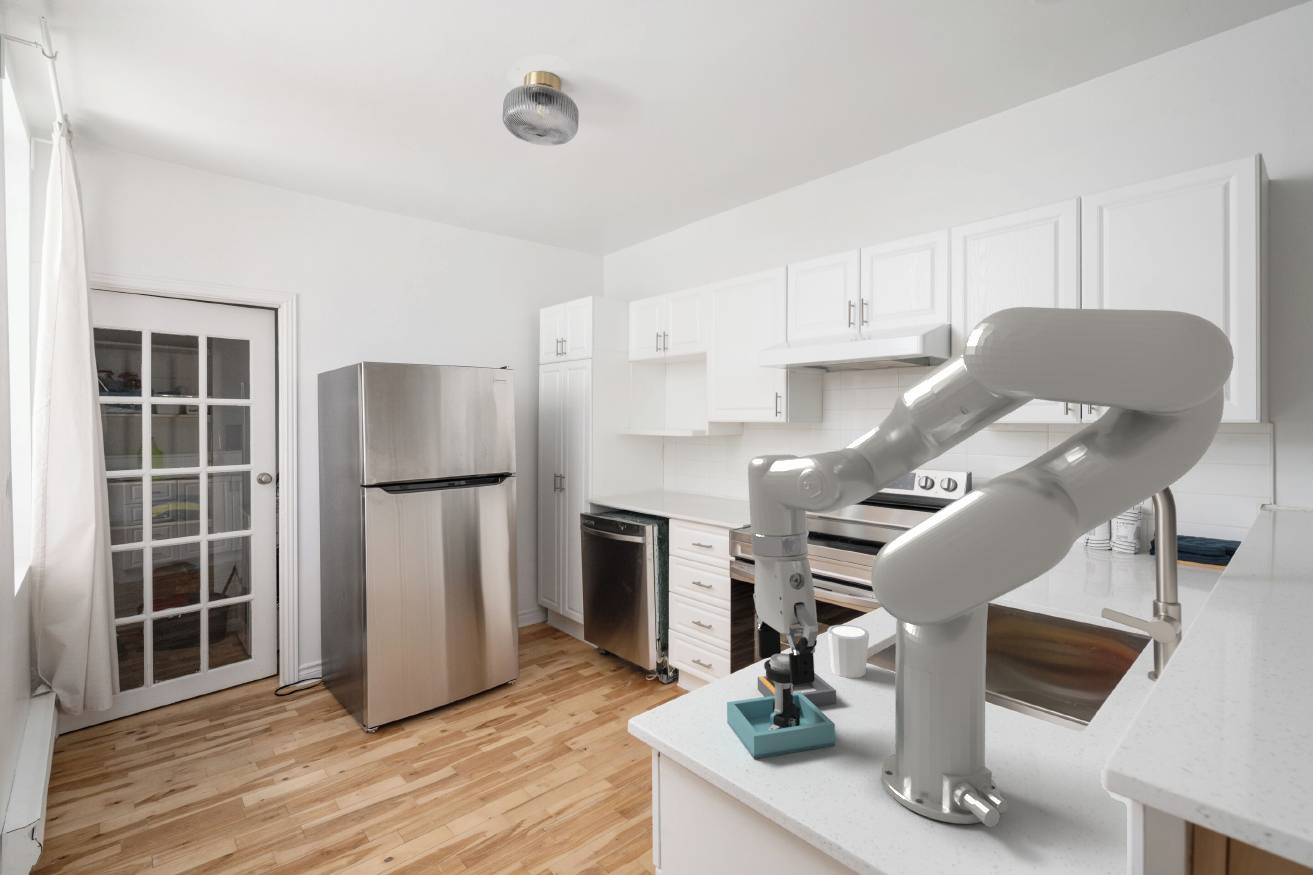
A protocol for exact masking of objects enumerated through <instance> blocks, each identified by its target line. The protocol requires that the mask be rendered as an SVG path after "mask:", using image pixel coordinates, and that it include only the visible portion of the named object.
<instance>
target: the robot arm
mask: <svg viewBox="0 0 1313 875" xmlns="http://www.w3.org/2000/svg"><path fill="white" fill-rule="evenodd" d="M1234 358H1235V357H1234V352H1233V346H1232V344H1231V342H1230V339H1229V338H1228V336H1227V335H1226V334H1225V332H1224V331H1223V329H1221V328H1220V327H1219V326H1217V325H1216V324H1215V323H1213V322H1212V321H1210V320H1208V319H1206V318H1204V317H1202V316H1200V315H1196V314H1192V313H1188V312H1184V311H1176V310H1175V311H1174V310H1166V309H1165V310H1164V309H1162V310H1161V309H1160V310H1158V309H1157V310H1156V309H1116V308H1115V309H1113V308H1112V309H1110V308H1108V309H1107V308H1068V307H1067V308H1066V307H1065V308H1063V307H1061V308H1060V307H1039V306H1038V307H1035V306H1034V307H1033V306H1021V307H1019V306H1018V307H1017V306H1016V307H1010V308H1004V309H1002V310H998V311H996V312H994V313H991V314H990V315H988V316H986V317H985V318H983V319H982V320H981V321H979V322H978V323H977V324H976V325H975V326H974V328H973V329H972V330H971V331H970V332H969V335H968V336H967V338H966V340H965V343H964V346H963V349H962V350H960V351H959V352H957V353H956V354H954V355H953V356H952V357H950V358H948V359H947V360H946V361H944V362H943V363H941V364H939V365H938V366H937V367H935V368H933V369H932V370H931V371H930V372H928V373H927V374H925V375H924V376H922V377H921V378H920V379H918V380H916V381H915V382H913V383H912V384H910V385H908V386H907V387H906V388H904V390H902V391H901V393H900V394H899V395H898V396H897V398H896V400H895V402H894V405H893V408H892V409H891V411H890V413H889V414H888V415H887V416H886V418H885V419H883V420H882V421H881V422H880V423H879V424H878V425H876V426H875V427H874V428H873V429H871V430H870V431H868V432H866V433H865V434H863V435H862V436H861V437H859V438H857V439H855V441H853V442H851V443H850V444H848V445H847V446H845V447H844V448H841V449H840V450H834V451H826V452H819V453H816V454H815V453H814V454H810V455H805V456H797V455H794V454H767V455H758V456H755V457H753V458H751V459H750V461H749V463H748V466H747V477H748V478H747V479H748V496H749V497H748V500H749V501H748V502H749V513H750V514H749V516H750V538H751V556H752V557H753V558H754V593H753V594H752V597H753V601H754V606H755V608H754V614H755V615H756V618H757V621H756V628H757V638H758V639H757V640H758V657H760V659H771V656H772V655H774V654H780V653H782V649H781V634H782V635H783V636H785V637H786V639H787V641H788V645H789V647H790V650H791V653H788V654H789V665H790V682H791V683H792V684H793V685H800V684H806V683H812V682H814V680H815V677H814V673H815V659H814V653H816V646H817V644H818V640H817V638H818V633H819V626H818V619H817V618H818V616H817V605H816V597H815V587H814V582H813V581H814V580H813V575H812V570H811V565H810V561H809V558H808V556H809V554H808V553H809V552H808V528H807V527H808V526H807V512H809V513H814V514H828V513H832V512H836V511H838V510H839V511H840V510H841V509H845V508H847V507H850V506H853V505H856V504H859V503H861V502H863V501H865V500H866V499H869V498H870V497H872V496H874V495H876V494H878V493H879V492H882V491H883V490H884V489H885V488H887V487H889V486H891V485H892V484H894V483H896V482H897V481H899V480H901V479H902V478H904V477H906V476H907V475H909V474H910V473H912V472H913V471H915V470H917V469H918V468H921V466H923V465H925V464H926V463H928V462H930V461H933V460H935V459H937V458H939V457H941V456H942V455H943V454H945V453H946V452H947V451H948V452H949V450H951V449H952V448H954V447H955V446H958V445H959V444H961V443H963V442H965V441H966V440H968V439H969V438H971V437H972V436H974V435H975V434H977V433H979V432H980V431H982V430H984V429H985V428H986V427H989V426H990V425H991V424H994V423H995V422H997V421H999V420H1001V419H1002V418H1004V417H1005V416H1008V415H1009V414H1011V413H1013V412H1015V411H1016V410H1017V409H1019V408H1021V407H1023V406H1024V405H1026V404H1028V403H1029V402H1031V401H1033V400H1034V399H1035V400H1043V401H1049V402H1059V403H1068V404H1077V405H1086V406H1088V405H1089V406H1098V407H1107V408H1108V409H1107V410H1106V412H1105V413H1103V414H1102V416H1101V417H1099V418H1097V420H1095V421H1093V422H1092V423H1091V424H1089V425H1087V426H1086V427H1084V428H1082V430H1081V429H1080V430H1079V431H1078V432H1077V433H1075V434H1073V435H1071V436H1070V437H1068V438H1067V439H1066V440H1063V441H1062V442H1061V443H1060V444H1059V445H1057V446H1055V447H1053V448H1051V449H1049V451H1047V452H1045V453H1043V454H1042V455H1040V456H1038V457H1037V458H1035V459H1033V460H1032V461H1030V462H1027V463H1026V464H1024V465H1023V466H1020V467H1018V468H1016V469H1014V470H1012V471H1008V472H1006V473H1003V474H1000V475H998V476H995V477H993V478H991V479H990V480H987V481H985V482H984V483H982V484H980V485H978V486H977V487H975V488H972V490H970V491H968V492H967V493H965V494H964V495H962V496H960V497H959V498H957V499H956V500H954V501H952V502H951V503H949V504H948V505H946V506H945V507H943V508H941V509H940V510H938V511H935V513H933V514H931V515H929V516H928V517H926V518H924V519H923V520H921V521H920V522H919V523H917V524H915V525H913V526H912V527H910V528H909V529H907V530H906V531H905V530H904V532H902V533H901V534H899V535H897V536H896V537H893V538H892V539H890V540H889V541H887V542H886V543H885V544H884V545H883V546H882V547H881V548H880V549H879V551H878V553H877V554H876V556H875V557H874V560H873V563H872V566H871V573H870V581H871V582H870V583H871V588H872V591H873V594H874V596H875V598H876V600H877V602H878V604H879V605H880V606H881V607H882V608H883V609H884V610H885V611H886V612H887V614H888V615H890V616H891V617H893V618H895V619H896V626H895V662H894V663H895V679H894V680H895V682H894V683H895V688H894V689H895V690H894V691H895V693H894V694H895V697H894V698H895V699H894V700H895V704H894V706H895V712H894V713H895V714H894V715H895V716H894V717H895V718H894V719H895V720H894V722H895V728H894V729H895V730H894V732H895V733H894V734H895V745H894V746H895V752H894V754H892V755H891V756H890V757H888V758H886V759H885V761H884V762H883V764H882V768H881V780H882V784H883V786H884V788H885V789H886V791H887V792H888V793H889V794H890V796H891V797H892V798H893V799H894V800H895V801H897V802H899V803H900V804H901V805H902V806H903V807H906V808H907V809H908V810H911V811H912V812H915V813H916V814H919V815H921V816H924V817H927V818H929V819H932V820H937V821H940V822H945V823H949V824H957V825H958V824H959V825H962V824H963V825H965V824H966V825H969V824H978V823H982V824H984V825H985V826H986V827H988V828H994V827H996V826H997V824H999V821H1000V818H1001V816H1000V814H1004V813H1006V811H1007V810H1008V808H1009V804H1008V803H1009V802H1008V801H1007V800H1006V799H1004V798H1003V797H1002V796H1001V792H1000V789H999V787H998V785H997V783H996V782H995V781H994V780H993V778H992V774H993V772H992V771H991V770H990V769H989V768H987V767H986V668H987V629H988V628H987V626H988V624H987V623H988V612H989V603H990V602H992V601H994V600H996V599H998V598H1000V597H1002V596H1004V595H1006V594H1009V593H1010V592H1012V591H1015V590H1016V589H1018V588H1021V587H1023V586H1024V585H1027V584H1028V583H1030V582H1033V581H1034V580H1036V579H1038V578H1039V577H1042V575H1044V574H1046V573H1048V572H1049V571H1050V570H1052V569H1053V568H1055V567H1056V566H1057V565H1058V564H1060V563H1061V562H1062V560H1063V559H1065V558H1066V556H1067V555H1068V554H1069V553H1070V551H1071V549H1072V547H1073V546H1074V543H1076V542H1077V541H1078V539H1079V538H1081V537H1083V536H1084V535H1086V534H1088V533H1089V532H1091V531H1092V530H1094V529H1096V528H1098V527H1099V526H1102V525H1104V524H1106V523H1107V522H1109V521H1111V520H1114V519H1115V518H1117V517H1119V516H1121V515H1122V514H1124V513H1126V512H1127V511H1129V510H1131V509H1132V508H1134V507H1136V506H1138V505H1139V504H1141V503H1142V502H1144V501H1146V500H1148V499H1150V498H1152V497H1153V496H1155V495H1157V494H1159V493H1160V492H1162V491H1163V490H1165V489H1167V488H1168V487H1170V486H1172V485H1173V484H1175V483H1176V482H1177V481H1179V480H1180V479H1181V478H1183V477H1185V475H1187V473H1189V472H1190V471H1191V470H1192V469H1193V468H1194V467H1195V466H1196V465H1197V464H1198V463H1199V462H1200V460H1201V459H1202V458H1203V457H1204V455H1205V454H1206V453H1207V451H1208V450H1209V448H1210V446H1211V445H1212V444H1213V442H1214V439H1215V437H1216V435H1217V432H1218V430H1219V428H1220V425H1221V421H1222V419H1223V414H1224V405H1225V401H1224V400H1225V394H1224V393H1225V391H1224V389H1225V388H1224V385H1225V384H1226V383H1227V382H1228V380H1229V378H1230V376H1231V374H1232V371H1233V367H1234ZM799 636H802V637H800V639H799V640H798V642H797V640H796V637H799Z"/></svg>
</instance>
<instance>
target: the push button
mask: <svg viewBox="0 0 1313 875" xmlns="http://www.w3.org/2000/svg"><path fill="white" fill-rule="evenodd" d="M763 666H764V667H763V668H764V670H765V676H767V678H768V679H770V680H772V681H773V682H774V684H775V700H774V701H773V712H774V713H772V714H771V715H770V728H769V729H768V730H775V729H782V728H788V727H795V726H799V725H800V708H799V707H796V706H795V704H793V693H794V692H793V691H794V690H793V689H794V688H793V684H792V683H791V682H790V665H789V653H785V652H783V653H782V652H781V653H780V654H774V655H772V656H771V657H770V658H768V659H767V660H766V661H764V664H763Z"/></svg>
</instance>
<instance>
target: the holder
mask: <svg viewBox="0 0 1313 875" xmlns="http://www.w3.org/2000/svg"><path fill="white" fill-rule="evenodd" d="M814 677H815V680H814V682H812V683H806V684H800V685H793V687H802V686H809V685H810V686H811V687H812V688H813V689H814V690H813V691H805V692H801V693H802V694H803V695H804V696H805V697H806V698H807V699H808V700H809V701H811V702H812V703H813V704H814V705H815V706H816V707H820V706H824V705H825V706H826V705H833V704H837V690H836V689H835V687H833V686H832V685H830V684H829V682H827V681H826V680H824V679H823V678H822V677H820V676H819V675H818V674H817V673H815V672H814ZM757 690H758V692H760V693H761V695H762V697H768V696H775V684H774V682H773V681H772V680H770V679H768V678H767V676H766V675H763V676H757Z"/></svg>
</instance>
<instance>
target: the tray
mask: <svg viewBox="0 0 1313 875" xmlns="http://www.w3.org/2000/svg"><path fill="white" fill-rule="evenodd" d="M802 693H803V692H801V691H798V692H793V704H795V706H796V707H799V708H800V725H799V726H795V727H788V728H782V729H775V730H768V729H769V728H770V715H771V714H772V713H774V712H773V701H774V700H775V696H768V697H764V696H761V697H756V698H746V699H740V700H734V701H728V702H726V714H727V715H726V717H727V718H726V719H727V720H726V722H727V723H726V724H728V726H729V727H730V729H731V730H732V731H733V732H734V734H735V736H737V738H738V739H739V741H740V742H741V743H742V745H743V746H744V748H745V749H746V750H747V752H748V753H749V754H750V756H751V757H752V759H754V760H757V759H763V758H770V757H775V756H780V755H788V754H794V753H799V752H806V751H812V750H818V749H822V748H830V747H834V746H836V742H835V741H836V740H835V738H836V737H835V735H836V734H835V733H836V732H835V731H836V729H835V728H836V727H835V725H836V724H835V723H834V722H833V721H832V720H831V718H829V717H828V716H827V715H826V714H825V713H824V712H822V711H821V709H819V707H818V706H815V705H814V704H813V703H812V702H811V701H809V700H808V699H807V698H806V697H805V696H804V695H803V694H802Z"/></svg>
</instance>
